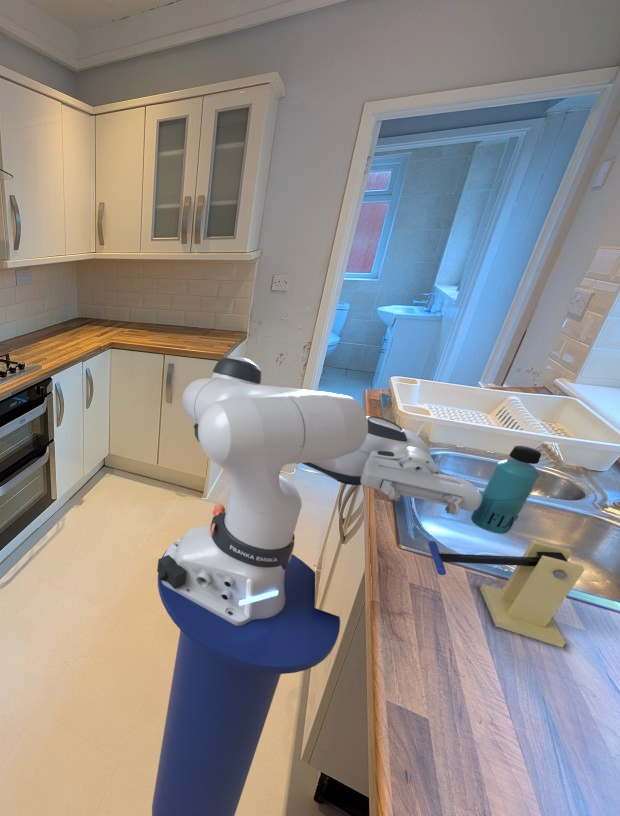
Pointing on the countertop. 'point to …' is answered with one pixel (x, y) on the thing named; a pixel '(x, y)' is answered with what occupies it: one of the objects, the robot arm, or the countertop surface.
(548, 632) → the switch bracket
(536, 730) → the countertop surface
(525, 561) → the lever
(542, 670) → the countertop surface
